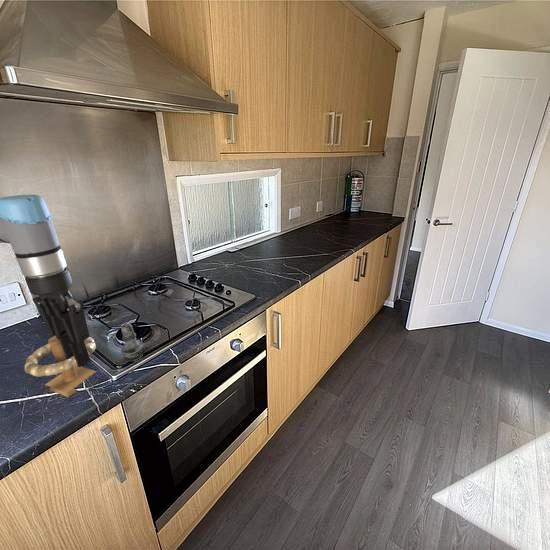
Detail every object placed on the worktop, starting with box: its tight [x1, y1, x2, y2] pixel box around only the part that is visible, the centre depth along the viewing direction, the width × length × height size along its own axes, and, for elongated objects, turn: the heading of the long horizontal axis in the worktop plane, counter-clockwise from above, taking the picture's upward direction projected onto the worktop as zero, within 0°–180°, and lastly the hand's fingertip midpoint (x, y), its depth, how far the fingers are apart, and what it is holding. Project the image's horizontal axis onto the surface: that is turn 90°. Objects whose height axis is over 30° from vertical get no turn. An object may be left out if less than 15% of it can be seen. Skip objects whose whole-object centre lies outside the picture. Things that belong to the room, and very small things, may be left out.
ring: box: [24, 336, 97, 378], centre depth 72 cm, size 14×14×2 cm
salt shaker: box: [120, 321, 144, 362], centre depth 82 cm, size 6×6×12 cm
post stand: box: [44, 336, 97, 398], centre depth 73 cm, size 8×8×14 cm
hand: (79, 361), depth 70 cm, fingers closed on ring, 2 cm apart
